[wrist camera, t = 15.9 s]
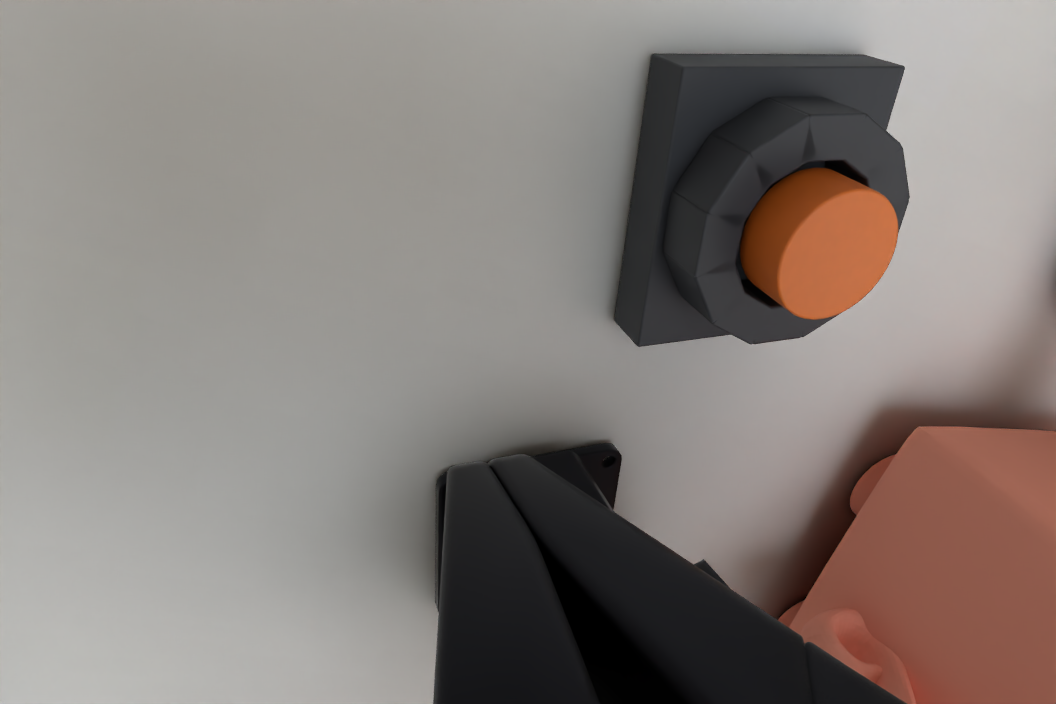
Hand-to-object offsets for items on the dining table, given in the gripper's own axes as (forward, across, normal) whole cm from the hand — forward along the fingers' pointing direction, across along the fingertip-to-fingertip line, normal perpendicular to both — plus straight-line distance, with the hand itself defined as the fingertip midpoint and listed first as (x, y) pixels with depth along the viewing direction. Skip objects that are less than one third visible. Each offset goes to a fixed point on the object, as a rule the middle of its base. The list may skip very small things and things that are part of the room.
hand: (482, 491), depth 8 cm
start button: (+10, -12, +2) cm, 16 cm away
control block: (+13, -12, +2) cm, 18 cm away
